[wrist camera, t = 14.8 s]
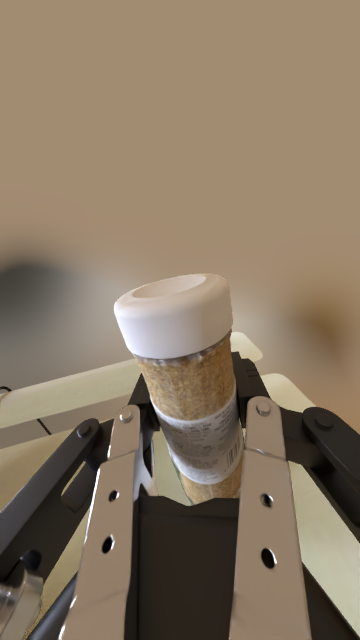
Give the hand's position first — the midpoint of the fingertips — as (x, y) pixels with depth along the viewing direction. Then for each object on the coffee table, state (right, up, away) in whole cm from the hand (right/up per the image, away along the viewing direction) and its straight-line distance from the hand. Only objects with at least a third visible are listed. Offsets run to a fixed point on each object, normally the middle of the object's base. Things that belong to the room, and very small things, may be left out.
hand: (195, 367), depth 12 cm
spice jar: (+1, -8, 0) cm, 8 cm away
